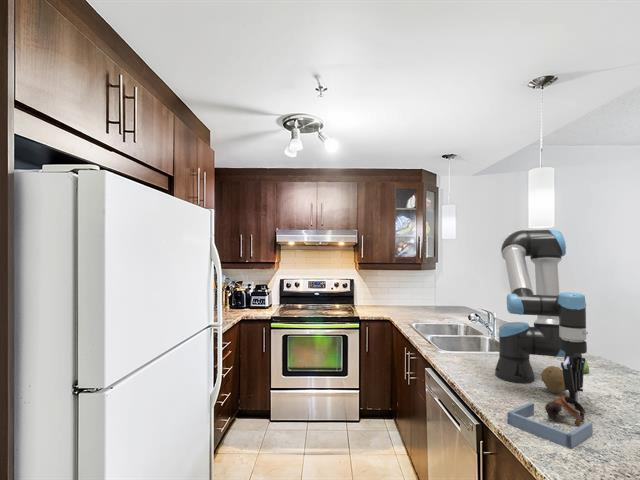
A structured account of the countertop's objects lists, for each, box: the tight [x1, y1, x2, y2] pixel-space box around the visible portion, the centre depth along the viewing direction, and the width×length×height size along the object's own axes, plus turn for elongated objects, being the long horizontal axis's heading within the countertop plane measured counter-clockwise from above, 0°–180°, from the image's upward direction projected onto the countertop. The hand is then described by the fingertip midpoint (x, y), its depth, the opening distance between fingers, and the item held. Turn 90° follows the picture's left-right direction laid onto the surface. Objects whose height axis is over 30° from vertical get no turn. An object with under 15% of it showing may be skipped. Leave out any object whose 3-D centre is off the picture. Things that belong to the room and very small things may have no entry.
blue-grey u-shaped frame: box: [506, 402, 594, 450], centre depth 113 cm, size 18×14×4 cm
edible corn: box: [582, 356, 590, 374], centre depth 171 cm, size 5×20×5 cm
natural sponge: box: [540, 365, 567, 394], centre depth 142 cm, size 9×9×10 cm
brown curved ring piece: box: [544, 395, 587, 427], centre depth 118 cm, size 12×10×8 cm
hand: (574, 410), depth 122 cm, fingers closed
